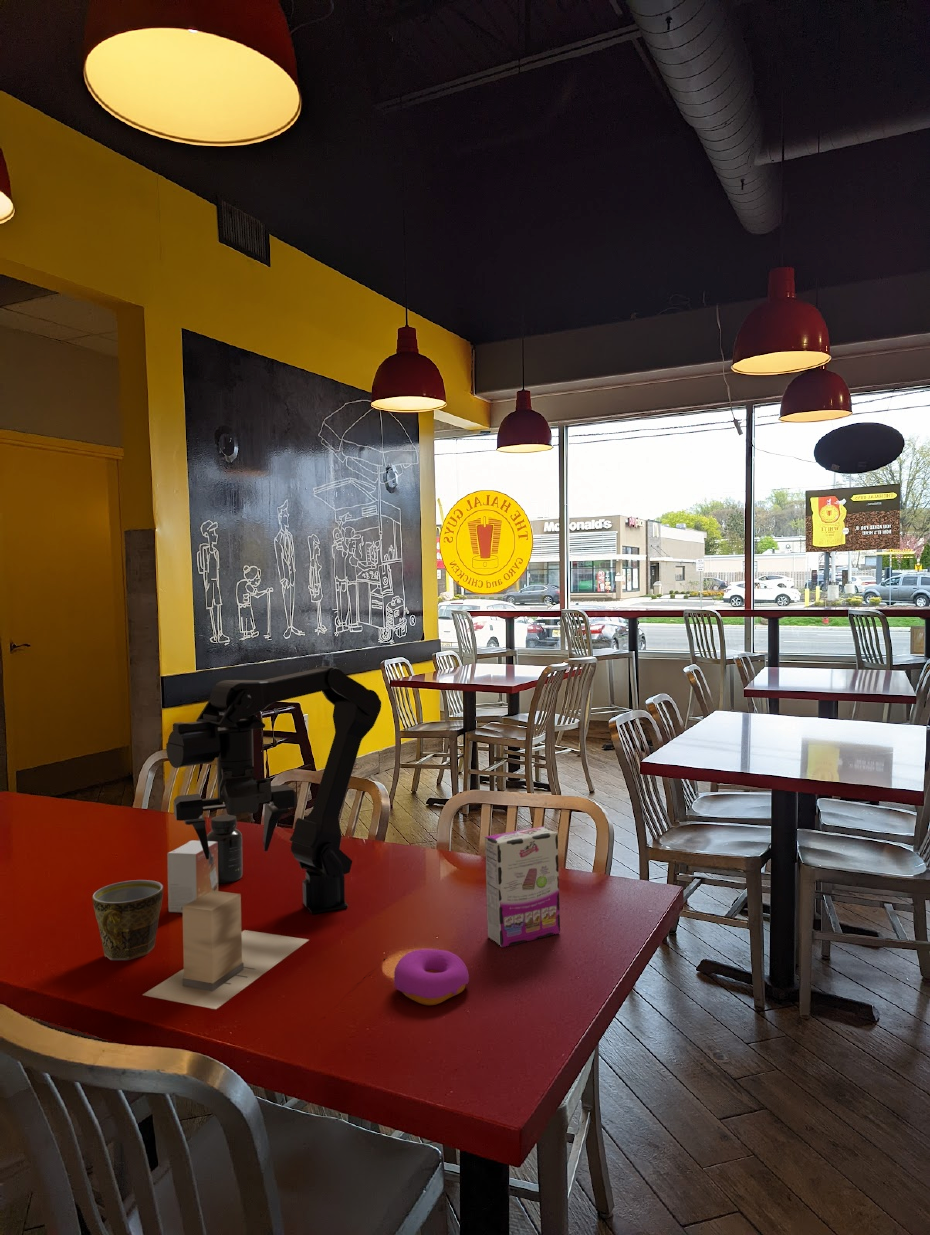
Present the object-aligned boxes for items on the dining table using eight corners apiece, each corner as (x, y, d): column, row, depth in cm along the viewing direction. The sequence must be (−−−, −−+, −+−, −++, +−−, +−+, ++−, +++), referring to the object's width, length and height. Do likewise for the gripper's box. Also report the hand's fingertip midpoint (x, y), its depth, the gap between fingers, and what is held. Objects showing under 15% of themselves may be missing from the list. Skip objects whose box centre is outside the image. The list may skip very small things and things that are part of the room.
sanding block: (214, 964, 119) (213, 889, 118) (243, 969, 117) (242, 893, 117) (182, 986, 112) (180, 906, 112) (212, 991, 110) (210, 911, 110)
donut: (427, 1017, 105) (426, 982, 105) (378, 991, 112) (377, 958, 112) (483, 990, 112) (482, 957, 112) (433, 967, 119) (433, 936, 119)
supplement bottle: (198, 882, 157) (197, 820, 157) (221, 871, 163) (220, 812, 163) (227, 886, 154) (226, 823, 154) (250, 875, 161) (249, 814, 160)
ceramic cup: (112, 942, 129) (111, 879, 129) (174, 942, 129) (173, 879, 129) (70, 979, 116) (69, 910, 116) (139, 980, 116) (138, 910, 116)
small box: (196, 914, 140) (195, 854, 140) (167, 912, 141) (166, 852, 141) (219, 898, 148) (218, 840, 148) (191, 896, 149) (190, 839, 149)
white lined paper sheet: (244, 935, 131) (244, 930, 131) (309, 944, 127) (309, 939, 127) (142, 1000, 110) (142, 994, 110) (216, 1015, 106) (215, 1009, 106)
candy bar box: (544, 923, 134) (542, 825, 134) (561, 934, 130) (559, 832, 130) (484, 937, 129) (483, 834, 129) (500, 949, 125) (499, 842, 124)
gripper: (179, 773, 120) (181, 878, 120) (304, 761, 128) (305, 860, 128) (172, 760, 130) (174, 857, 130) (288, 750, 138) (290, 842, 138)
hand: (236, 854), depth 131 cm, fingers open, 9 cm apart
